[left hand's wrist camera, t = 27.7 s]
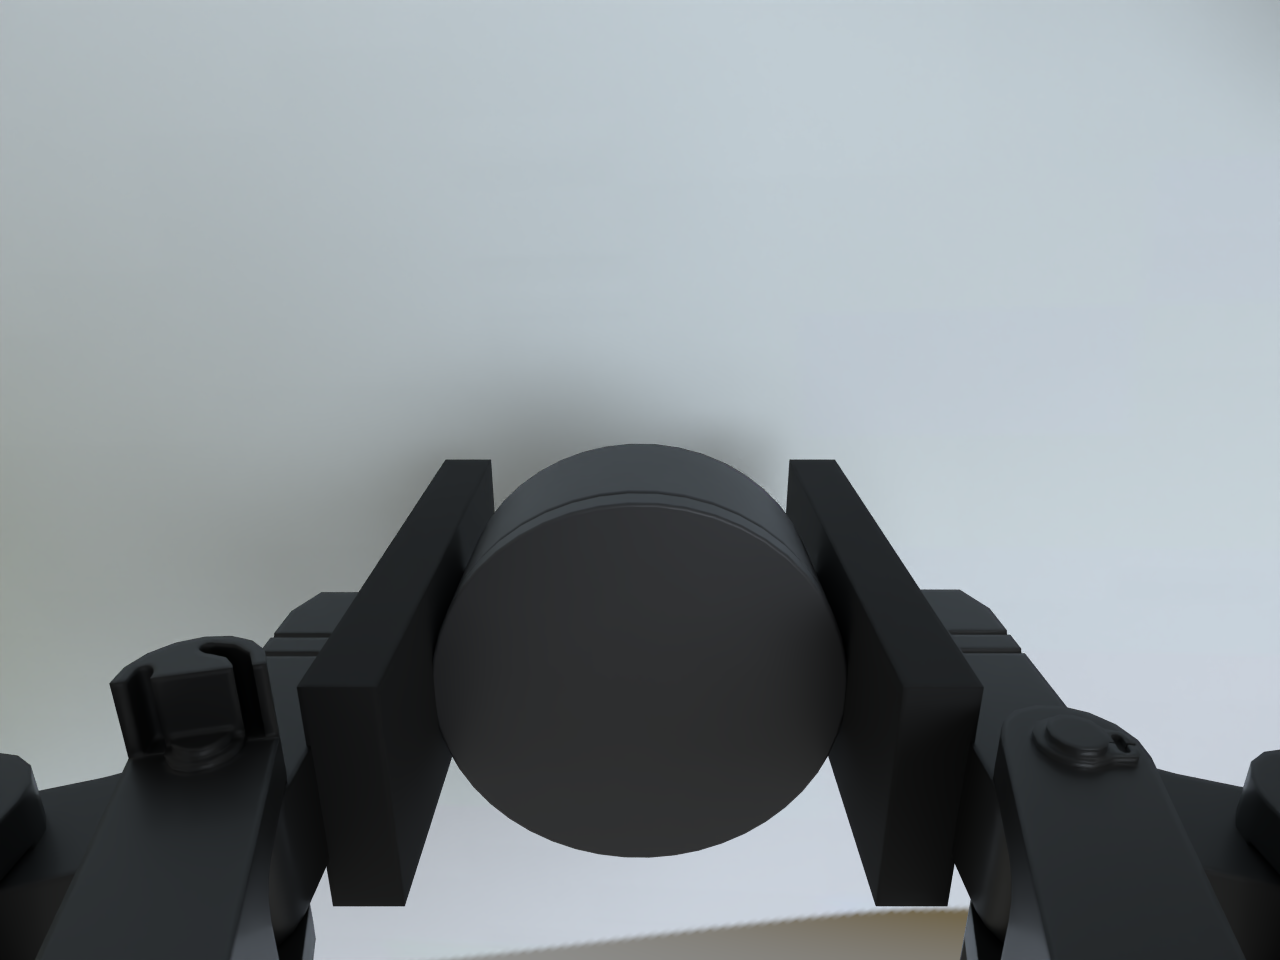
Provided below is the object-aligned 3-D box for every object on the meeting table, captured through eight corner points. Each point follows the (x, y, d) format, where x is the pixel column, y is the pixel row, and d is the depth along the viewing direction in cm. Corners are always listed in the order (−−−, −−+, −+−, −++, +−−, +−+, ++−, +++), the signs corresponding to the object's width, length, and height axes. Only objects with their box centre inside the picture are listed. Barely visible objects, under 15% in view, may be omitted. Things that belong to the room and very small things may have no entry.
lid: (444, 451, 11) (401, 514, 9) (818, 433, 11) (856, 492, 9) (486, 757, 13) (458, 866, 11) (810, 744, 13) (842, 851, 11)
